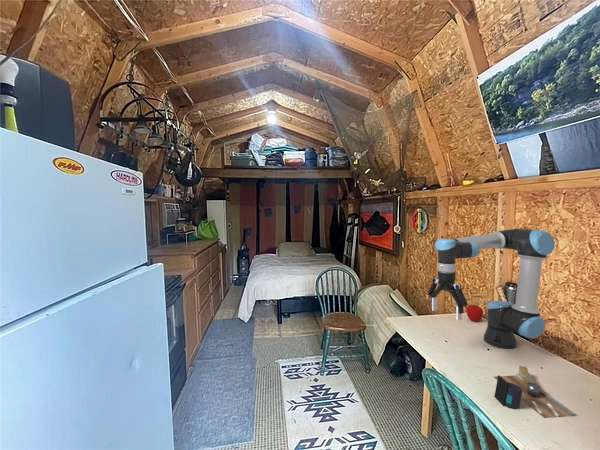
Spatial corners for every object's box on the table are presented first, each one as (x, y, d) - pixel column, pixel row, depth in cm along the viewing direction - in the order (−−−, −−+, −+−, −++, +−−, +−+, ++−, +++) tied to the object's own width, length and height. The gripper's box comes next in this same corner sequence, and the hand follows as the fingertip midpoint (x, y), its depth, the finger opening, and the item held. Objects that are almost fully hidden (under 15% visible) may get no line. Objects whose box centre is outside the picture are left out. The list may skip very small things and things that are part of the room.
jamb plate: (518, 377, 128) (518, 373, 128) (575, 419, 103) (575, 414, 103) (493, 379, 127) (493, 375, 127) (544, 421, 102) (544, 416, 102)
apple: (469, 323, 186) (469, 307, 186) (463, 317, 196) (463, 302, 195) (486, 324, 185) (486, 307, 184) (479, 318, 194) (479, 302, 194)
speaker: (497, 408, 109) (500, 382, 108) (493, 399, 114) (496, 374, 113) (521, 415, 106) (525, 388, 105) (516, 406, 111) (520, 380, 110)
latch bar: (541, 398, 112) (542, 387, 111) (529, 396, 113) (529, 385, 113) (527, 377, 126) (528, 367, 125) (516, 375, 127) (517, 365, 127)
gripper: (420, 267, 146) (420, 307, 147) (465, 278, 123) (464, 325, 125) (430, 265, 149) (430, 305, 150) (476, 276, 126) (476, 322, 128)
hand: (446, 314), depth 137 cm, fingers open, 13 cm apart
